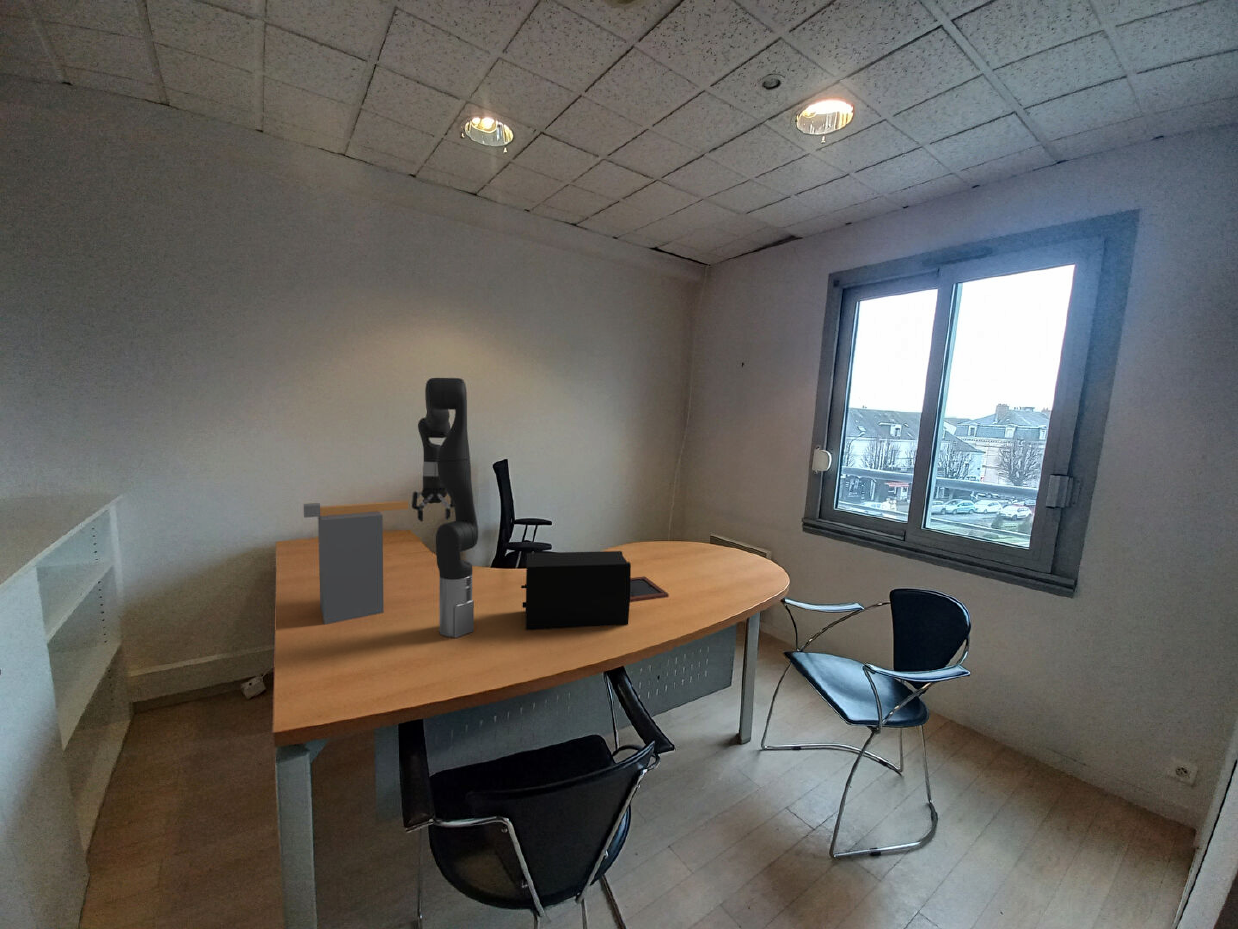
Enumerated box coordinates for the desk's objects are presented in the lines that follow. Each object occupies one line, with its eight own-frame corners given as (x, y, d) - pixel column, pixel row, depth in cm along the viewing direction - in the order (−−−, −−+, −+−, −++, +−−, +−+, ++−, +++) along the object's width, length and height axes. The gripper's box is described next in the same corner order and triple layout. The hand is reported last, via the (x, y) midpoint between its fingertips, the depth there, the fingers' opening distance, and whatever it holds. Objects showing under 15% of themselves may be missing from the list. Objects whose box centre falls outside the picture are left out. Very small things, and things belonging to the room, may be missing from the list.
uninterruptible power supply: (628, 626, 142) (631, 565, 140) (520, 632, 135) (521, 568, 133) (618, 605, 158) (620, 550, 156) (520, 610, 151) (521, 552, 149)
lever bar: (405, 507, 155) (405, 497, 155) (408, 509, 152) (408, 499, 152) (303, 515, 138) (303, 503, 137) (304, 517, 135) (304, 506, 134)
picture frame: (606, 607, 158) (668, 598, 168) (606, 601, 158) (668, 593, 167) (587, 587, 176) (644, 580, 186) (587, 582, 176) (644, 575, 186)
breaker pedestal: (375, 595, 158) (374, 506, 155) (384, 612, 145) (383, 514, 142) (320, 606, 148) (317, 510, 145) (324, 624, 135) (322, 520, 132)
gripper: (452, 473, 165) (452, 517, 166) (410, 474, 158) (410, 520, 158) (457, 474, 159) (457, 520, 160) (414, 475, 151) (413, 523, 152)
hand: (434, 520), depth 159 cm, fingers open, 8 cm apart
